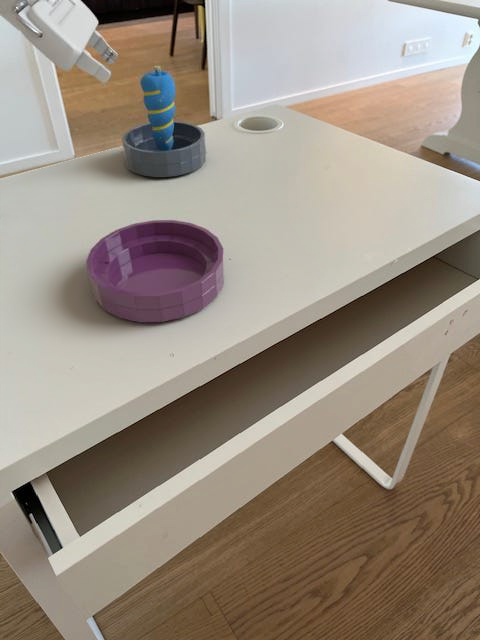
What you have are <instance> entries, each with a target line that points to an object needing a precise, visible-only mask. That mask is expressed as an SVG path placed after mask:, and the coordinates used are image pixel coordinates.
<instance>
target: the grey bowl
mask: <svg viewBox="0 0 480 640" xmlns="http://www.w3.org/2000/svg"><path fill="white" fill-rule="evenodd" d="M173 121H174V130H173V134H172V136H173V145H172V148H171V150H169V151H159V149H158V147H157V144H156V142H155V140H154V137H153V133H152V130H153V128H152V126H151V124H150V122H147V123H146V122H145V123H142V124H139V125H137V126H134V127H132V128H129V129H128V130H127V131H126V132H124V133H123V134H122V137H121V142H122V149H123V157H124V161H125V162H124V163H125V165H126V167H127V169H128V170H130V171H131V172H132V173H135V174H137V175H140V176H145V177H146V176H147V177H151V178H170V177H176V176H182V175H185V174H189V173H191V172H192V173H193V172H194V171H196V170H198V169H199V168H201V167H202V166H204V164H205V163H206V160H207V148H206V146H207V145H206V133H205V131H204V129H202V128H201V127H200V126H198V125H196V124H193V123H189V122H186V121H178V120H173Z"/></svg>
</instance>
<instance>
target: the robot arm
mask: <svg viewBox="0 0 480 640" xmlns="http://www.w3.org/2000/svg"><path fill="white" fill-rule="evenodd" d="M0 17H2V18H3V19H4V20H5V21H6V22H7V23H9V24H10V25H11V26H12V27H14V29H16V30H17V31H20V33H21V34H22V36H24V38H25V39H26V40H27V41H28V42H29V43H31V45H33V46H34V48H36V49H37V50H38V51H39V52H40V53H41V54H42V55H43V56H45V58H47V59H48V60H49V61H50V62H51V63H53V64H54V65H55V66H56V67H57V68H59V69H61V70H63V71H64V72H70V71H71V70H72V69H73V67H74V66H76V67H77V68H78V69H80V70H81V71H82V72H85V73H87V74H89V75H91V76H93V77H94V78H95V79H97V80H98V81H99V82H101V83H102V84H106V83H108V81H109V79H110V78H111V76H112V70H111V68H108V66H107V65H105V64H104V62H102V63H101V62H100V61H99V60H97V59H96V58H94V57H92V54H91V53H90V52H89V51H88V50H86V47H87V45H88V47H90V48H92V49H94V50H95V51H96V52H97V53H98V54H99V55H100V57H101V59H102V60H103V61H105V62H106V63H107V64H108V65H109V66H112V65H114V63H115V62H116V60H117V59H118V56H119V55H118V53H117V51H115V50H114V49H113V48H112V47H111V46H110V45H109V44H108V42H107V40H106V39H105V38H104V37H103V36H102V34H101V33H100V32H99V31H97V30H96V29H97V27H98V25H99V20H98V18H97V16H96V15H95V14H94V13H93V12H92V11H91V9H90V8H89V7H88V6H87V5H86V4H85V3H84V2H83V1H82V0H0Z"/></svg>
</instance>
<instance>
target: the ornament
mask: <svg viewBox="0 0 480 640" xmlns="http://www.w3.org/2000/svg"><path fill="white" fill-rule="evenodd" d="M156 63H157V64H156ZM153 70H154V71H153ZM153 70H152V71H149V72H147V73H145V74H144V75H143V76H142V77H141V78H140V87H141V89H142V92H143V103H144V106H145V108H146V109H147V118H148V123H150V124H151V126H152V128H153V130H152V133H153V137H154V140H155V142H156V144H157V147H158V149H159V151H169V150H171V148H172V145H173V136H172V134H173V130H174V121H175V120H174V116H175V113H176V103H175V98H176V85H175V81H174V78H173V77H172V75H171V74H170V73H169V72H168V71H165V70H161V65H160V64H159V62H158V61H157V60H156V61H155V63H154V66H153Z"/></svg>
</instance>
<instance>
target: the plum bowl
mask: <svg viewBox="0 0 480 640" xmlns="http://www.w3.org/2000/svg"><path fill="white" fill-rule="evenodd" d="M224 253H225V251H224V247H223V245H222V243H221V241H220V239H219V238H218V237H217V236H216V235H215V234H214V233H212V232H211V231H210V230H209V229H207V228H205V227H202V226H200V225H197V224H195V223H193V222H188V221H182V220H175V219H160V220H159V219H153V220H147V221H141V222H135V223H132V224H129V225H126V226H124V227H120V228H118V229H115V230H113V231H112V232H110V233H108V234H107V235H105V236H103V237H102V238H100V239H99V240H98V241H97V242H96V243H95V245H94V246H92V247H91V248H90V250H89V253H88V255H87V258H86V261H85V264H86V269H87V270H86V271H87V275H88V278H89V284H90V286H91V290H92V294H93V298H94V300H95V301H96V302H97V303H98V305H99V306H100V307H101V308H102V309H103V310H104V311H105V312H108V313H109V314H112V315H113V316H114V317H117V318H119V319H122V320H123V319H124V320H127V321H133V322H137V323H163V322H169V321H173V320H177V319H180V318H181V319H182V318H186V317H188V316H191V315H192V314H194V313H197V312H199V311H201V310H203V309H204V308H206V307H207V306H208V305H209V304H210V303H212V302H213V301H214V300H215V299H216V298H217V297H218V296H219V294H220V292H221V291H222V289H223V287H224V286H225V256H224V255H225V254H224Z"/></svg>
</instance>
